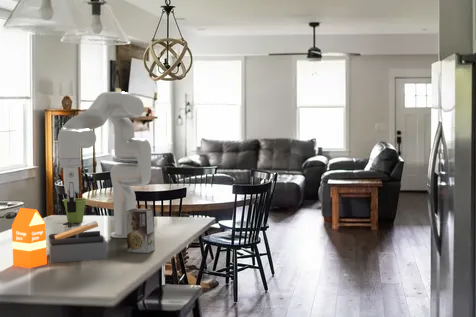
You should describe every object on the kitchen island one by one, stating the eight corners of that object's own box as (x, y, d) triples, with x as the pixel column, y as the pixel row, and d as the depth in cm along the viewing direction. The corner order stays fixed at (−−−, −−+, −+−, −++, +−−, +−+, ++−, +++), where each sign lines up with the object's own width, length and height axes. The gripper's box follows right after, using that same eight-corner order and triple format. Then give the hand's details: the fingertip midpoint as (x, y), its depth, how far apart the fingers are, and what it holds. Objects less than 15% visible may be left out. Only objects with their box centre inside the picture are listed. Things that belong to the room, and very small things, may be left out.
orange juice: (29, 268, 228) (27, 210, 226) (12, 265, 232) (10, 209, 231) (47, 263, 234) (45, 208, 233) (30, 261, 239) (28, 206, 238)
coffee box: (155, 250, 256) (154, 208, 255) (147, 253, 250) (146, 211, 249) (134, 248, 259) (133, 208, 258) (126, 252, 253) (125, 210, 252)
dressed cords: (99, 235, 255) (99, 230, 255) (103, 242, 242) (103, 236, 242) (48, 239, 249) (48, 233, 249) (49, 245, 236) (49, 240, 236)
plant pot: (84, 224, 320) (83, 201, 320) (60, 224, 321) (59, 201, 320) (90, 220, 332) (89, 198, 332) (66, 220, 332) (66, 198, 332)
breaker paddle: (96, 223, 251) (95, 220, 250) (98, 226, 245) (97, 222, 245) (55, 238, 246) (54, 234, 246) (56, 241, 240) (54, 237, 240)
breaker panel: (102, 250, 257) (102, 228, 256) (107, 258, 242) (107, 235, 241) (49, 254, 251) (48, 231, 250) (50, 262, 235) (49, 239, 235)
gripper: (81, 164, 237) (83, 214, 239) (79, 161, 251) (80, 208, 253) (60, 164, 235) (61, 215, 236) (59, 161, 249) (60, 209, 251)
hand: (71, 212), depth 245 cm, fingers closed
